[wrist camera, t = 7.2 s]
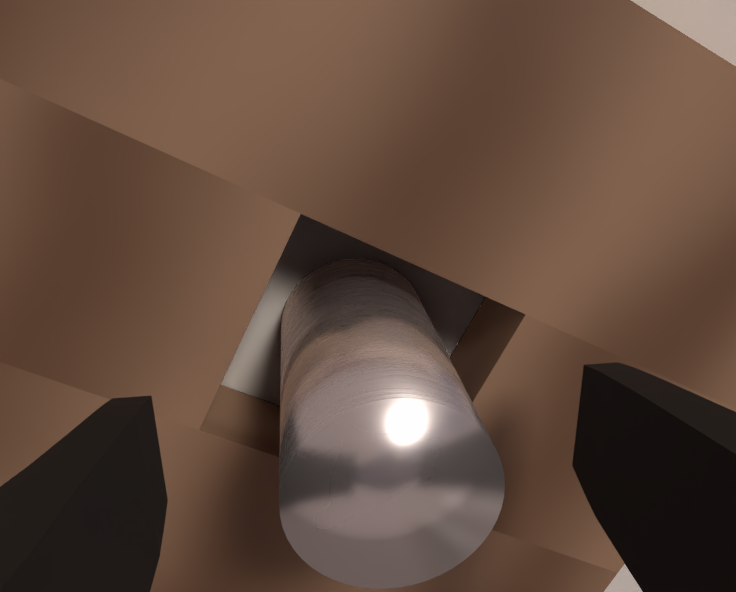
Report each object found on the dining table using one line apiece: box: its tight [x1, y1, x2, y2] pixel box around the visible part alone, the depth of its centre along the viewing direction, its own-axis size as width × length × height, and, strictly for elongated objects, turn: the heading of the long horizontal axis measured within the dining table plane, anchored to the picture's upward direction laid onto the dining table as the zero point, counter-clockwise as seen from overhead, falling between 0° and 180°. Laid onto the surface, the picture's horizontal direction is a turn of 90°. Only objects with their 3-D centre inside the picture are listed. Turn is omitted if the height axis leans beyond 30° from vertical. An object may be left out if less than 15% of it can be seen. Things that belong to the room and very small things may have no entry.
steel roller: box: [279, 259, 505, 589], centre depth 12 cm, size 3×3×6 cm
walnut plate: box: [0, 0, 736, 592], centre depth 14 cm, size 16×16×2 cm
